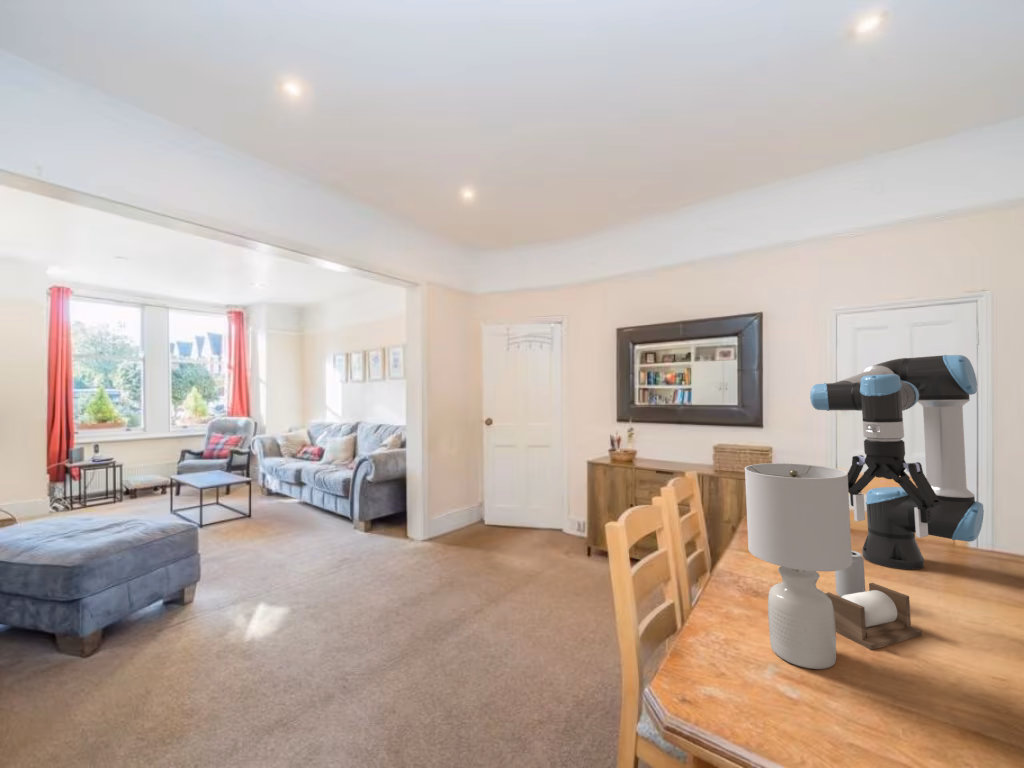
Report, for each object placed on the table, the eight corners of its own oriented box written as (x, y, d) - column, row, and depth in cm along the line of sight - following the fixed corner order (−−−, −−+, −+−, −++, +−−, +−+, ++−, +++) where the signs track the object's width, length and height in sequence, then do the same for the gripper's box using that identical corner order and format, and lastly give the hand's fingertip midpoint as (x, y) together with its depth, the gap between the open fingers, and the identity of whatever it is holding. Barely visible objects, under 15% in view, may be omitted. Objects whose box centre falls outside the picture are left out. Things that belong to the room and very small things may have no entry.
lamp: (737, 631, 106) (729, 464, 107) (818, 630, 106) (810, 462, 106) (782, 683, 87) (773, 479, 88) (882, 681, 87) (871, 476, 88)
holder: (866, 611, 113) (864, 579, 114) (921, 635, 102) (919, 599, 102) (818, 623, 109) (816, 589, 109) (871, 649, 97) (869, 612, 97)
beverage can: (871, 603, 117) (868, 557, 118) (843, 602, 119) (841, 556, 119) (857, 592, 124) (855, 548, 124) (831, 591, 125) (829, 548, 125)
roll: (866, 614, 110) (865, 585, 110) (898, 628, 103) (897, 597, 104) (838, 620, 107) (837, 590, 107) (869, 634, 100) (868, 602, 101)
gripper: (822, 435, 119) (827, 516, 119) (934, 446, 95) (941, 547, 95) (843, 433, 121) (848, 512, 121) (958, 442, 97) (964, 541, 97)
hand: (889, 528), depth 108 cm, fingers open, 13 cm apart
